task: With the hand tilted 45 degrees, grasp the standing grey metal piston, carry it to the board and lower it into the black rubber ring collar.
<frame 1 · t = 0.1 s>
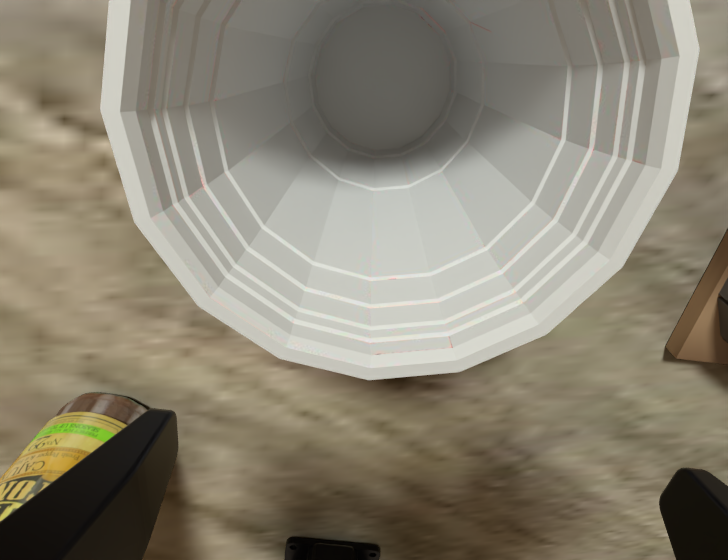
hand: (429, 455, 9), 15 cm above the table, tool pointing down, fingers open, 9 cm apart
sauce bottle: (115, 422, 29), on the table
plastic cup: (385, 75, 19), on the table
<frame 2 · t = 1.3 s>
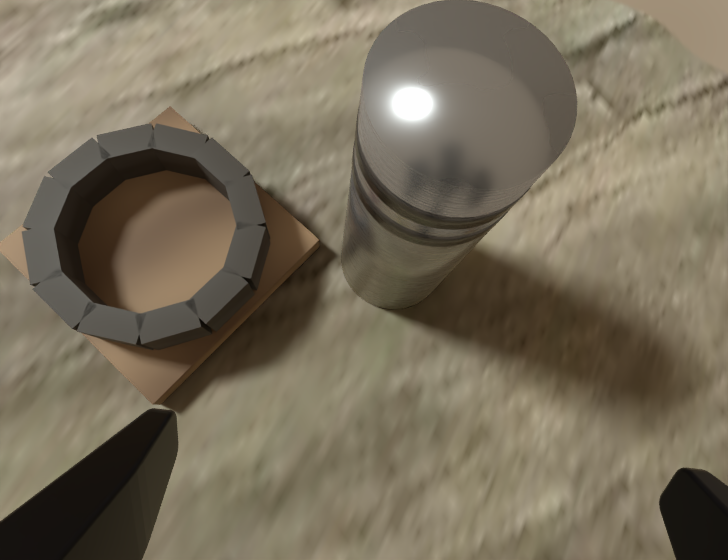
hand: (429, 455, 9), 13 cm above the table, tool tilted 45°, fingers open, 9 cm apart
piston: (392, 259, 24), on the table
collar: (168, 250, 23), on the table
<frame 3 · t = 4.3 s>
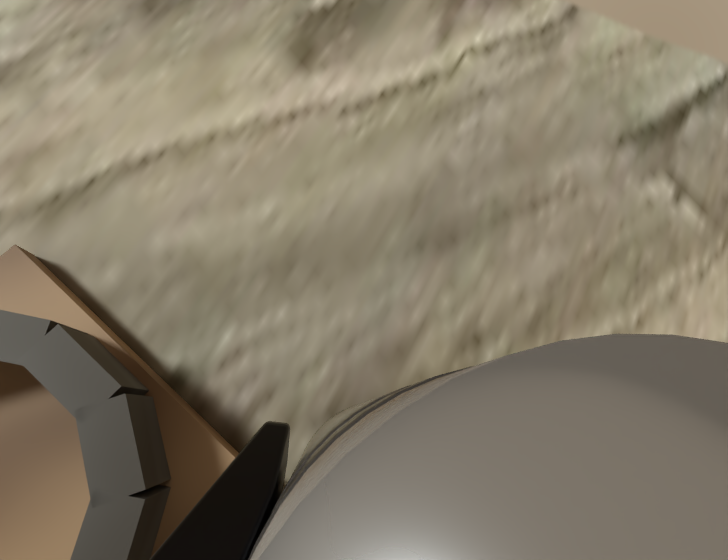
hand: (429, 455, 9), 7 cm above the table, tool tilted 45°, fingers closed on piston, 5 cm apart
piston: (378, 487, 14), on the table, touching gripper
collar: (4, 492, 14), on the table
when the fingers open (9 cm above the table, at t = 7.6 s): piston drops 1 cm, resting on collar.
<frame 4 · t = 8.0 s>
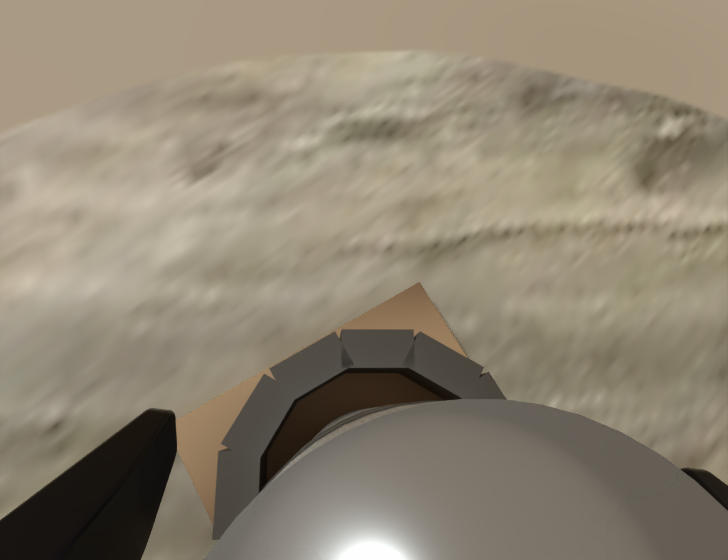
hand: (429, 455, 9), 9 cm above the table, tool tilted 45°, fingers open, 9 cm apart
piston: (373, 487, 16), point 1 cm above the table, touching collar
collar: (370, 477, 17), on the table
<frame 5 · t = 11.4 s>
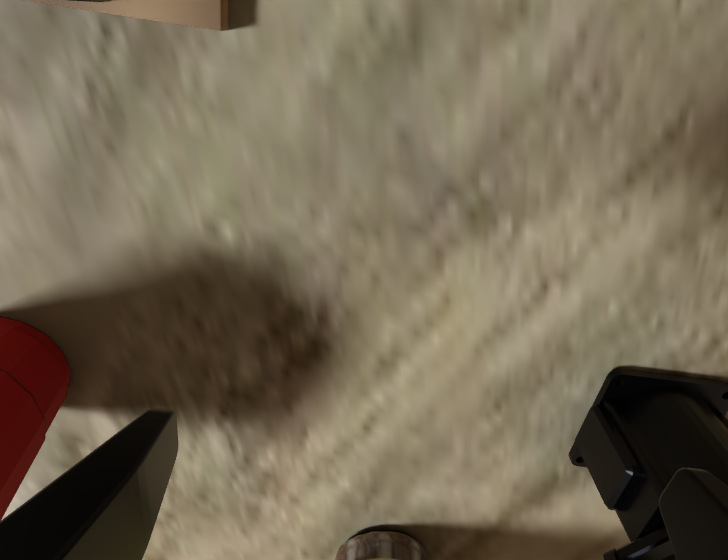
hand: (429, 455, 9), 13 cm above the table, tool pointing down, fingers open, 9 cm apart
sauce bottle: (380, 551, 32), on the table
plastic cup: (11, 358, 24), on the table
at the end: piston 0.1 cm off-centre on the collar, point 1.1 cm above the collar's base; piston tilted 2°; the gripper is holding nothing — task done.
